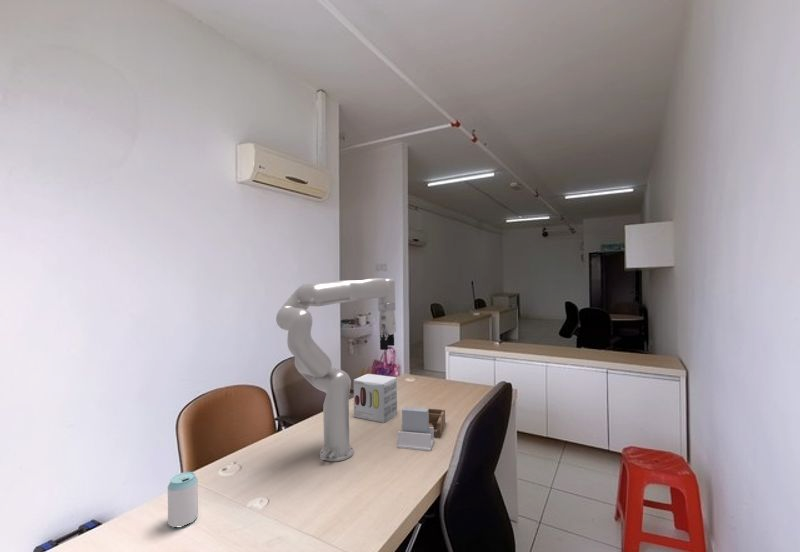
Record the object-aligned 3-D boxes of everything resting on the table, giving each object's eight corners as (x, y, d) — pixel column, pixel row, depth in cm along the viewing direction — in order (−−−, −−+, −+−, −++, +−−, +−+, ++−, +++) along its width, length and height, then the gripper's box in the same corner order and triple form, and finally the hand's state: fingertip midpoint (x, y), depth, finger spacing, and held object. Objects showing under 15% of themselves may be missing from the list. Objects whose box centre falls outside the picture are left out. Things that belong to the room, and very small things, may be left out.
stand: (430, 451, 137) (430, 435, 137) (397, 447, 140) (397, 432, 140) (434, 440, 146) (434, 426, 146) (403, 438, 149) (402, 423, 149)
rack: (440, 438, 148) (439, 422, 148) (402, 434, 152) (402, 419, 152) (445, 423, 163) (445, 408, 164) (411, 420, 167) (410, 406, 168)
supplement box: (353, 417, 173) (352, 379, 173) (368, 408, 184) (367, 373, 185) (384, 423, 165) (383, 383, 165) (398, 413, 176) (397, 376, 177)
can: (203, 512, 103) (202, 469, 103) (189, 529, 96) (188, 483, 96) (177, 513, 102) (177, 470, 103) (162, 530, 95) (161, 484, 96)
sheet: (427, 445, 140) (427, 411, 140) (402, 443, 142) (401, 409, 142) (429, 441, 143) (428, 408, 143) (404, 439, 146) (404, 406, 146)
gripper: (389, 309, 146) (390, 351, 145) (400, 306, 162) (401, 344, 162) (371, 309, 147) (372, 351, 147) (384, 306, 164) (385, 343, 164)
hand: (387, 347), depth 155 cm, fingers open, 9 cm apart
